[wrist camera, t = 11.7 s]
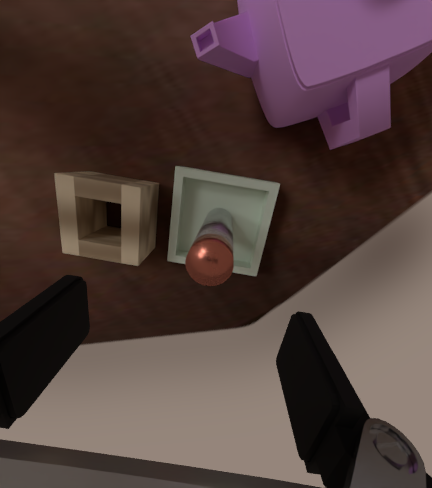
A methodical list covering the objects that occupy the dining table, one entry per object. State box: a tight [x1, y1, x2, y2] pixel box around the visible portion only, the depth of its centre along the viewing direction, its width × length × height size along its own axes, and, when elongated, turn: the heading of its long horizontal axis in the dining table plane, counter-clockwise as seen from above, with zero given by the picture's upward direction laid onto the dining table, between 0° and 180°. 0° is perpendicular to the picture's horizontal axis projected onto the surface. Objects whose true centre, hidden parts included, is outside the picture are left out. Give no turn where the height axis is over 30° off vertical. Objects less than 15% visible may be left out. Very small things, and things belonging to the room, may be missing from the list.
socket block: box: [54, 171, 159, 266], centre depth 26 cm, size 9×9×6 cm
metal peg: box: [185, 208, 234, 286], centre depth 22 cm, size 4×4×13 cm
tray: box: [167, 166, 280, 276], centre depth 27 cm, size 12×12×2 cm
